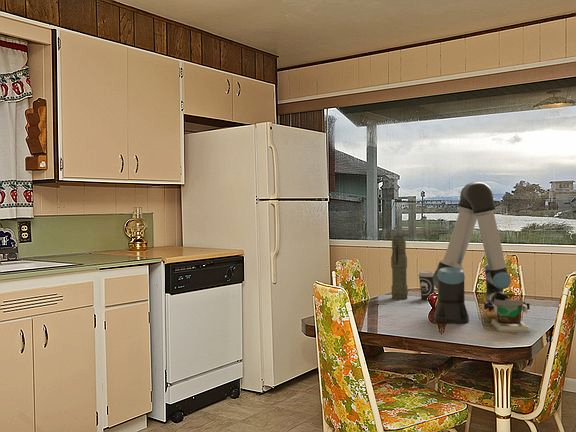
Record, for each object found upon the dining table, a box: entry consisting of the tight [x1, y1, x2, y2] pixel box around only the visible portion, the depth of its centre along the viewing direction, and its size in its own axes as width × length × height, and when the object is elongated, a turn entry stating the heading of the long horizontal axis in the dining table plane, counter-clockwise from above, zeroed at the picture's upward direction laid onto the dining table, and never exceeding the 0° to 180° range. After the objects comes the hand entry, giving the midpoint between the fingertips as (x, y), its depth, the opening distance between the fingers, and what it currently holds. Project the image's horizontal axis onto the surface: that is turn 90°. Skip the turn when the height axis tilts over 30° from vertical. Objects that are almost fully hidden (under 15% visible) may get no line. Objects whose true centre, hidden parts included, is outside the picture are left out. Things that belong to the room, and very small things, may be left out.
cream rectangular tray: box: [490, 319, 530, 333], centre depth 249 cm, size 12×16×2 cm
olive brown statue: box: [390, 235, 409, 301], centre depth 328 cm, size 9×12×35 cm
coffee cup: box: [418, 270, 435, 301], centre depth 325 cm, size 10×10×15 cm
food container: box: [494, 298, 524, 324], centre depth 249 cm, size 12×6×10 cm, turn 53°
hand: (511, 309), depth 246 cm, fingers closed on food container, 11 cm apart
